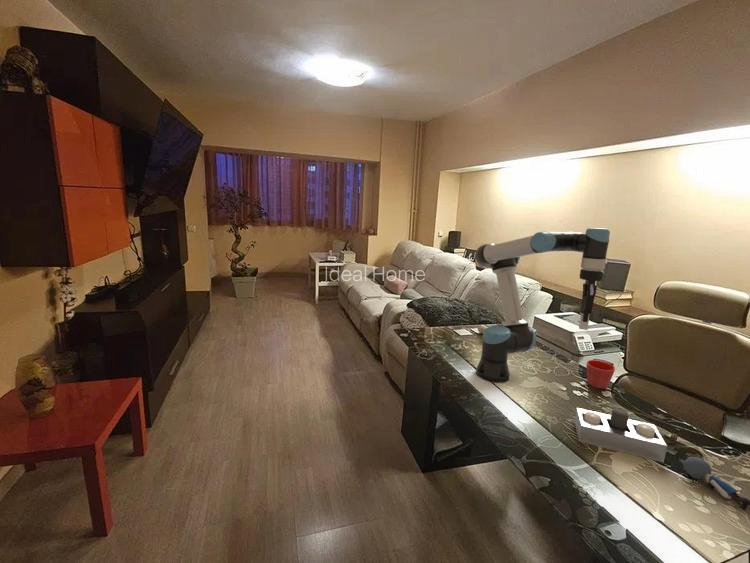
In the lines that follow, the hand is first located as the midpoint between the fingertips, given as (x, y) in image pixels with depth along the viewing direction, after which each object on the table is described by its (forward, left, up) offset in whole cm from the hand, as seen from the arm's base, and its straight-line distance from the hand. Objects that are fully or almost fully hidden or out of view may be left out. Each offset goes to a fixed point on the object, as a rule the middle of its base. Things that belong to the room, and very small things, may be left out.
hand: (583, 328), depth 131 cm
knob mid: (+11, -20, -28) cm, 36 cm away
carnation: (-38, +58, -33) cm, 77 cm away
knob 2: (+18, -20, -31) cm, 41 cm away
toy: (+32, -32, -33) cm, 56 cm away
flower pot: (+13, +25, -33) cm, 43 cm away
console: (+11, -20, -32) cm, 40 cm away
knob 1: (+4, -20, -31) cm, 37 cm away
